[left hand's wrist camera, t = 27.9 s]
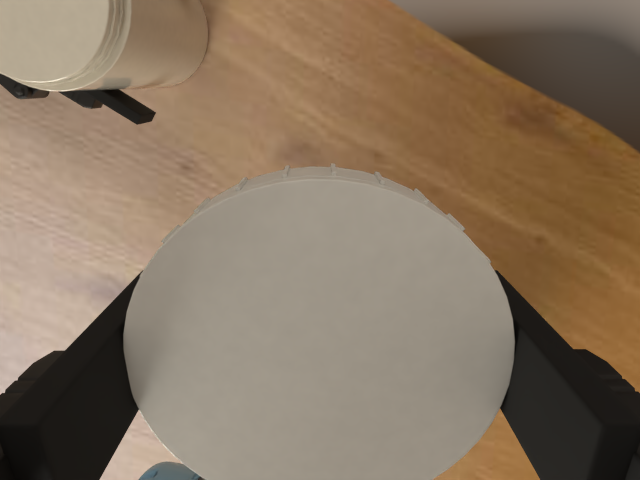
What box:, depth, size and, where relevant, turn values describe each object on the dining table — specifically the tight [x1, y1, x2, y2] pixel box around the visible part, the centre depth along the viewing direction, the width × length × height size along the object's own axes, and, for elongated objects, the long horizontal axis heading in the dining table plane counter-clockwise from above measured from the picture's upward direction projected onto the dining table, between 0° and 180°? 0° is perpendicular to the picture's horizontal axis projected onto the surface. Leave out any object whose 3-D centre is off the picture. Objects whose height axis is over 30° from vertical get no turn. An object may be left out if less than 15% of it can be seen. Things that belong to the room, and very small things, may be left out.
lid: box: [123, 164, 515, 480], centre depth 11 cm, size 10×10×2 cm
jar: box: [0, 0, 208, 91], centre depth 27 cm, size 9×9×16 cm
